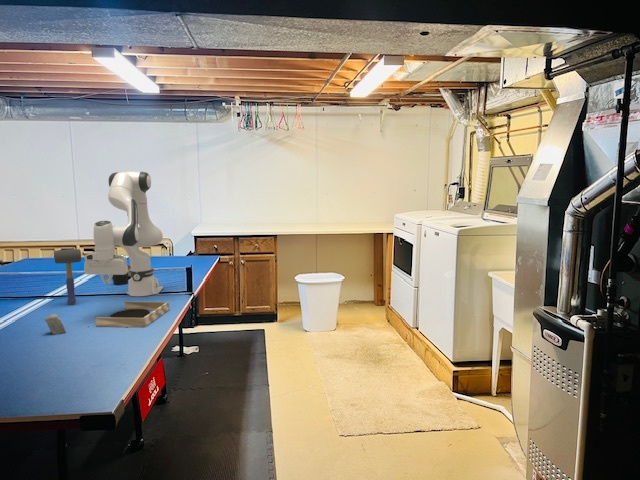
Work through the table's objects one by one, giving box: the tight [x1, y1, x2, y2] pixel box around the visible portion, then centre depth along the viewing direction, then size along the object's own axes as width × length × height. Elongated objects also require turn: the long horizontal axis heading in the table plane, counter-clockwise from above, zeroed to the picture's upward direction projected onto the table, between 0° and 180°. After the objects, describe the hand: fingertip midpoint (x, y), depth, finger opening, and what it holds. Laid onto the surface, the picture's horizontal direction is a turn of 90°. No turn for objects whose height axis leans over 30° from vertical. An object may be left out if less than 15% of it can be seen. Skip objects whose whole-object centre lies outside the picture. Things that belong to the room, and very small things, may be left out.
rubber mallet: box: [53, 248, 82, 306], centre depth 245 cm, size 12×8×30 cm, turn 115°
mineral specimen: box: [44, 313, 67, 335], centre depth 201 cm, size 7×9×8 cm
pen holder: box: [112, 273, 129, 286], centre depth 295 cm, size 9×9×10 cm
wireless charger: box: [109, 309, 151, 318], centre depth 222 cm, size 18×18×2 cm
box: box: [95, 301, 170, 328], centre depth 222 cm, size 28×23×4 cm
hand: (107, 283), depth 221 cm, fingers closed
